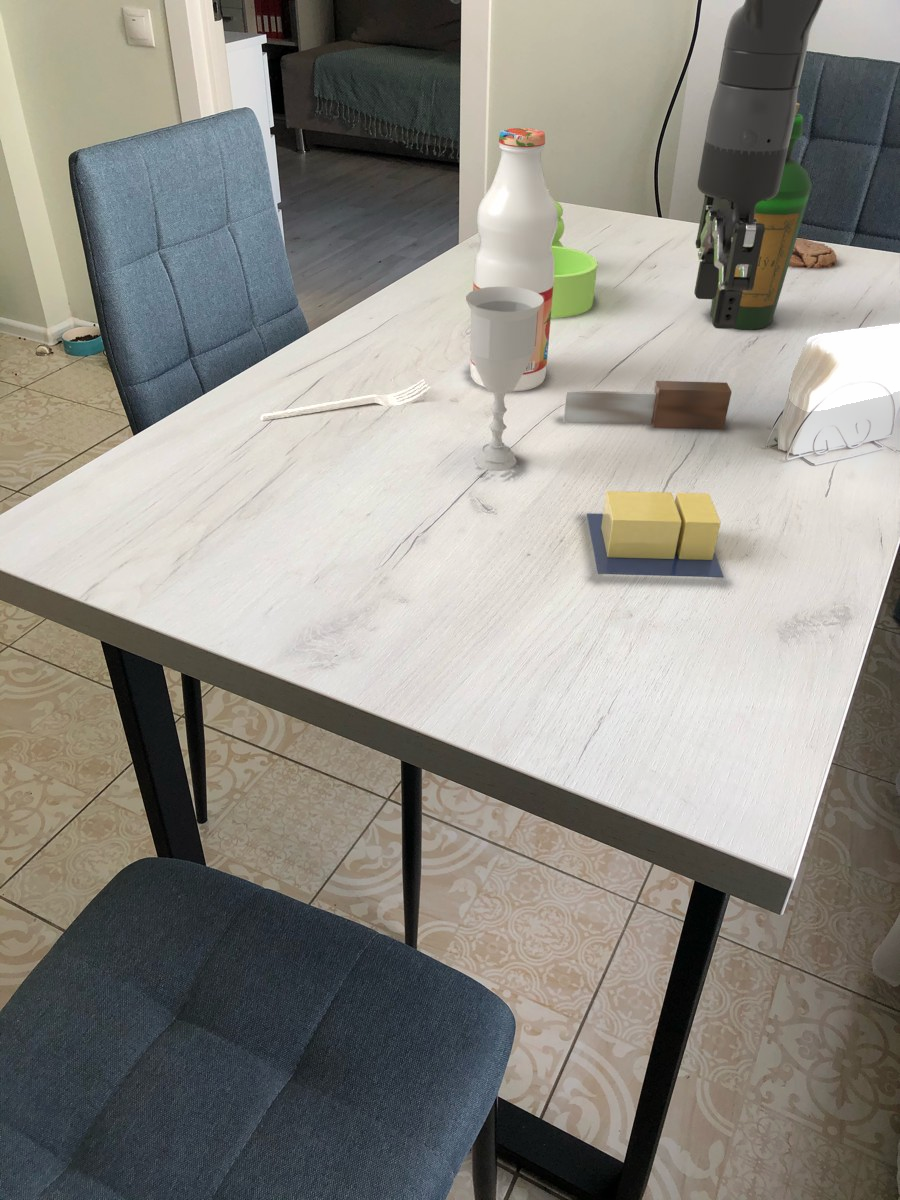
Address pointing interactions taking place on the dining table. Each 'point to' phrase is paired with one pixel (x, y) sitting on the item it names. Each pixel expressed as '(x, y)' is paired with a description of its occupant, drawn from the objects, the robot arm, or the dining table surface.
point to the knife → (654, 405)
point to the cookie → (812, 255)
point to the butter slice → (696, 526)
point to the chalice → (501, 355)
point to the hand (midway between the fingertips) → (713, 312)
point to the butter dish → (647, 564)
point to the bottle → (775, 240)
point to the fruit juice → (519, 237)
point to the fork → (355, 402)
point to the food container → (571, 276)
